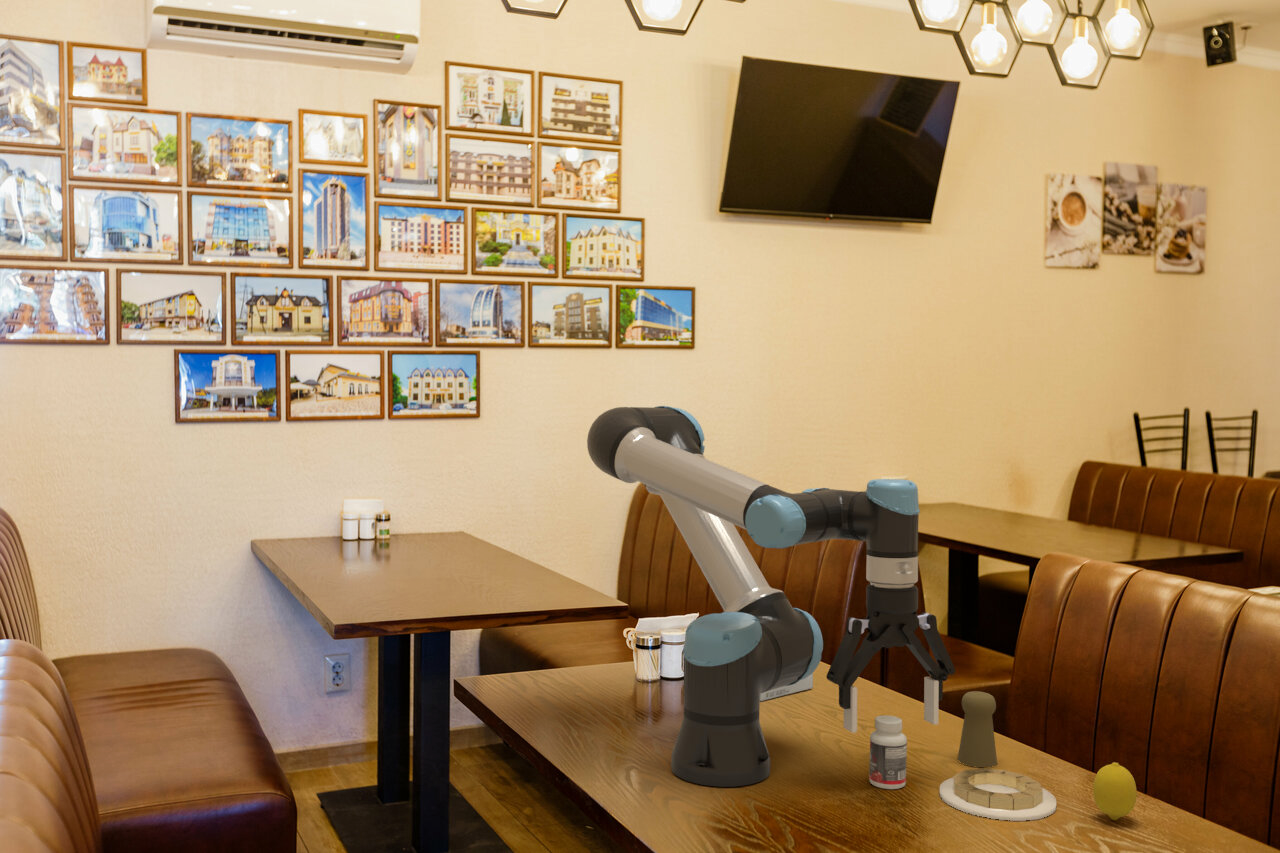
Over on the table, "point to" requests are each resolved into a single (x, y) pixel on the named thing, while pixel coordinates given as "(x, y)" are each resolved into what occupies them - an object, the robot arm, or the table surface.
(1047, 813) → the coaster
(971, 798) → the collar
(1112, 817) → the lemon
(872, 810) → the table surface
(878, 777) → the pill bottle
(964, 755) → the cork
